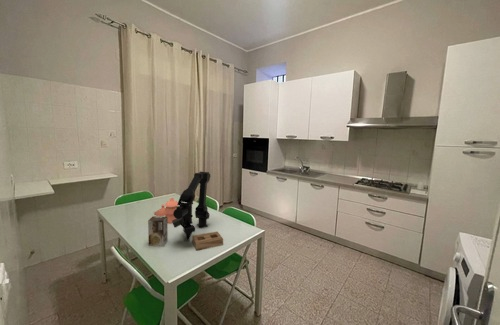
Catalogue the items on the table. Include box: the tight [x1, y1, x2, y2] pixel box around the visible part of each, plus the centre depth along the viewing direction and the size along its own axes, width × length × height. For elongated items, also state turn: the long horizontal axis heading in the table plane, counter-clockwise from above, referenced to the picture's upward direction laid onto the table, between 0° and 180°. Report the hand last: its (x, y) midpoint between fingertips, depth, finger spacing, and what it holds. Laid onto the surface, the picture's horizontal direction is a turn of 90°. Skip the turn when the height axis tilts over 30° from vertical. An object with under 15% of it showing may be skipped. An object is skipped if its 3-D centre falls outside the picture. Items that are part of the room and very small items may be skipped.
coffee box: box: [147, 215, 169, 247], centre depth 120 cm, size 9×6×16 cm
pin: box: [183, 232, 190, 243], centre depth 125 cm, size 3×3×9 cm
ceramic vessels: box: [153, 197, 179, 224], centre depth 161 cm, size 35×21×19 cm, turn 42°
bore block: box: [191, 231, 224, 251], centre depth 124 cm, size 11×16×4 cm
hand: (186, 237), depth 125 cm, fingers open, 5 cm apart
